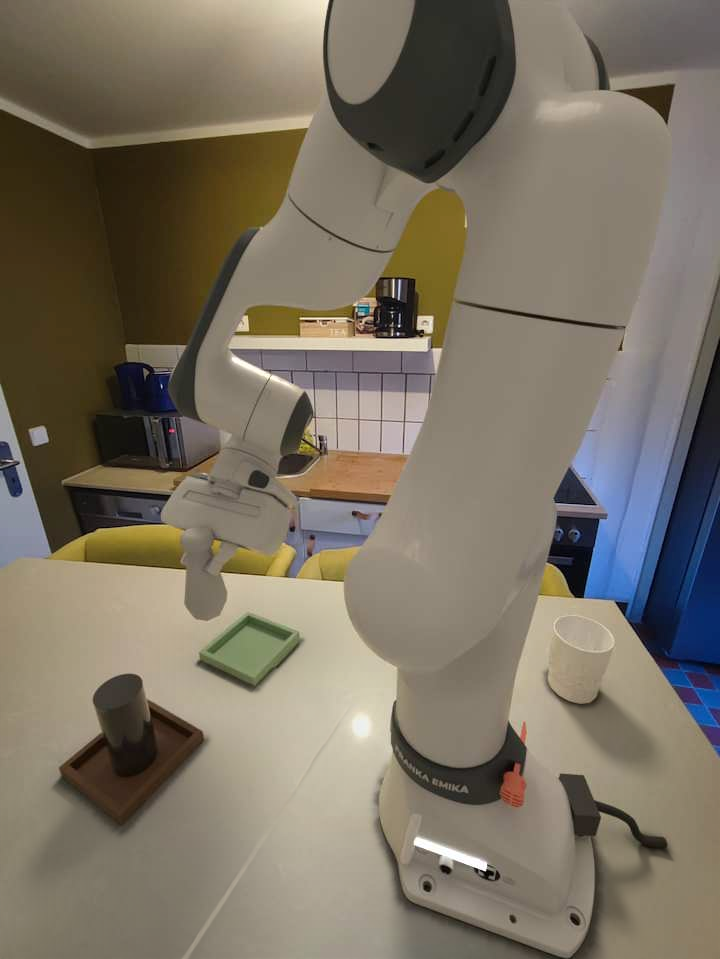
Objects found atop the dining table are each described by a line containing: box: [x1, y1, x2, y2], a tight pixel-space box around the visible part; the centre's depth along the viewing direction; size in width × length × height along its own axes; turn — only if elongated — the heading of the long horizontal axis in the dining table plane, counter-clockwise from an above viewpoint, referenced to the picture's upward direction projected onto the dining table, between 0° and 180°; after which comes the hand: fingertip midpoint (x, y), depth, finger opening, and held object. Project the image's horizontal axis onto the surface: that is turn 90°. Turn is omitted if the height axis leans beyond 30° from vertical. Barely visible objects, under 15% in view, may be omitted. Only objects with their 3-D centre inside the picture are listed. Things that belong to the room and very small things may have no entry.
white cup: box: [547, 614, 616, 705], centre depth 63 cm, size 8×8×10 cm
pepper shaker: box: [92, 673, 158, 777], centre depth 52 cm, size 5×5×11 cm
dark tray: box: [58, 698, 205, 826], centre depth 54 cm, size 12×12×2 cm
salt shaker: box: [179, 526, 228, 622], centre depth 59 cm, size 6×6×13 cm
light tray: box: [198, 611, 301, 687], centre depth 72 cm, size 12×12×2 cm
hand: (198, 569), depth 58 cm, fingers closed on salt shaker, 3 cm apart
